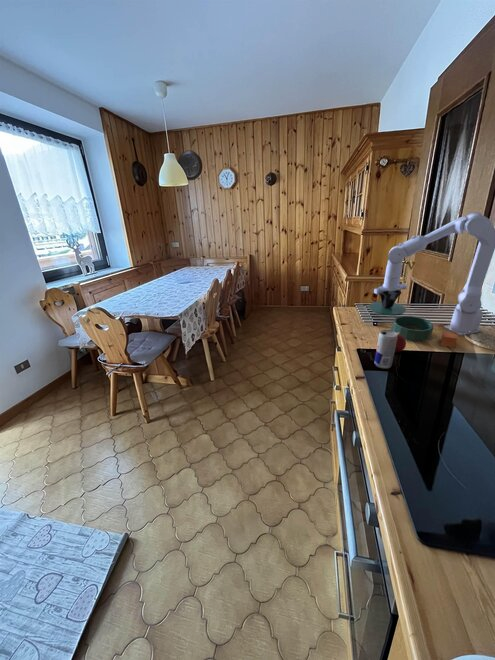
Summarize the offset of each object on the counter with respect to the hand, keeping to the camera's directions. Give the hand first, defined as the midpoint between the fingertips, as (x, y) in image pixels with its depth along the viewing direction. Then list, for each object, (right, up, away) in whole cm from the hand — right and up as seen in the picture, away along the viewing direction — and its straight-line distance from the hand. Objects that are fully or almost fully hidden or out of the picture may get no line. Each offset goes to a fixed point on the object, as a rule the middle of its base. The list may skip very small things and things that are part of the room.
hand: (387, 306), depth 123 cm
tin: (+4, -12, -10) cm, 16 cm away
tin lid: (0, -1, 0) cm, 1 cm away
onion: (-8, -18, -21) cm, 29 cm away
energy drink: (-15, -22, -27) cm, 38 cm away
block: (+13, -15, -18) cm, 27 cm away
